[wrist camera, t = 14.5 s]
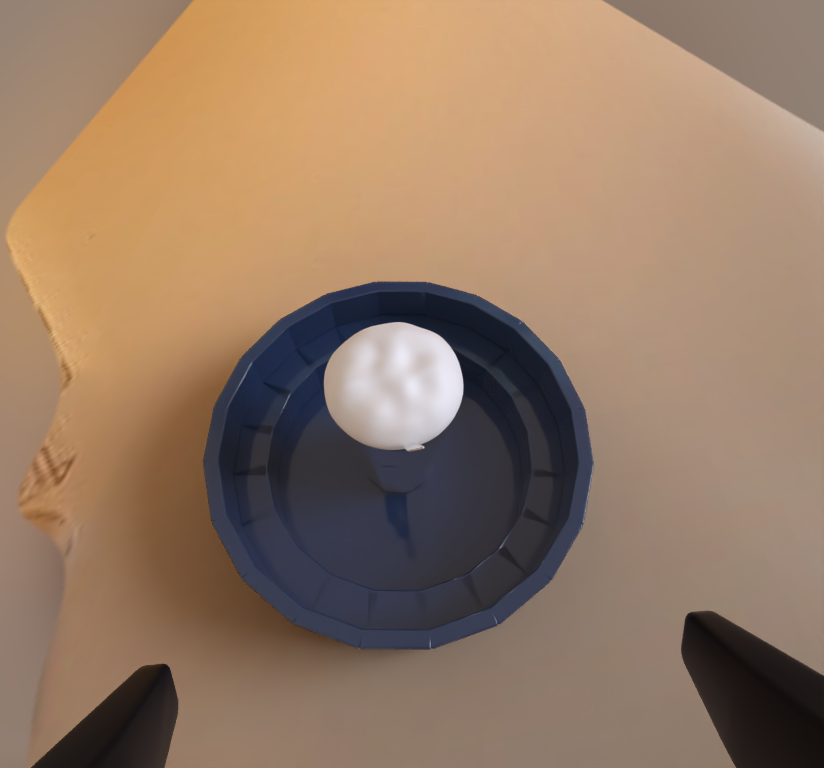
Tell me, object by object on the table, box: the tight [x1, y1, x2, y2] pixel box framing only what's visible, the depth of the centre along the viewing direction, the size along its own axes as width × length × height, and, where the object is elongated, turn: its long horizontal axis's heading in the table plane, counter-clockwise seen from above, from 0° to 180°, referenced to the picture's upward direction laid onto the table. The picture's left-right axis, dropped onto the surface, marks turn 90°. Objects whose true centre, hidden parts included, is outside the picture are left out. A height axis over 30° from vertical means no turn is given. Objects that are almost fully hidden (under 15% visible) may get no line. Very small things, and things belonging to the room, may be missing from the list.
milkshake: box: [324, 322, 463, 493], centre depth 19 cm, size 4×5×10 cm
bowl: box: [203, 282, 594, 650], centre depth 22 cm, size 15×15×4 cm
